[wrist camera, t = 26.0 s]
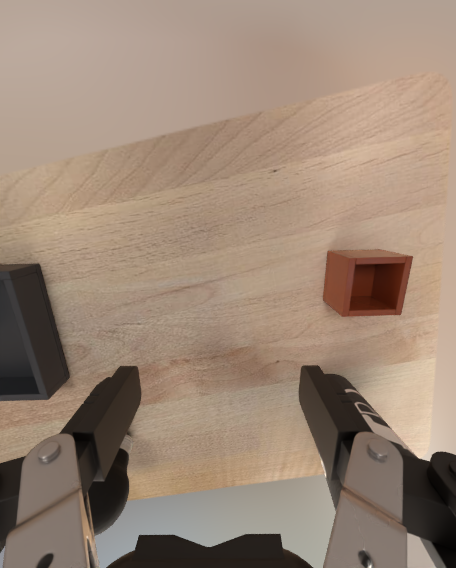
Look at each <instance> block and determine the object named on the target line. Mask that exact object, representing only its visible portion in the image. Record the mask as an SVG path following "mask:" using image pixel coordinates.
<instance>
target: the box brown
mask: <svg viewBox="0 0 456 568" xmlns="http://www.w3.org/2000/svg"><path fill="white" fill-rule="evenodd" d="M412 259H413V256H409V255H404V254H399V253H395V252H390V251H385V250H381V249H374V250H339V251H328V253H327V264H326V274H325V284H324V294H323V300H324V301H325V302H326V303H327V304H328V305H329V306H330V307H332V308H333V309H334V310H335V311H336V312H337V313H339V314H340V315H341V316H342V317H346V316H380V315H401V313H402V308H403V303H404V298H405V293H406V289H407V284H408V279H409V274H410V269H411V264H412Z"/></svg>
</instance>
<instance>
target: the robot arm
mask: <svg viewBox="0 0 456 568" xmlns="http://www.w3.org/2000/svg"><path fill="white" fill-rule="evenodd" d="M140 401H141V386H140V379H139V371H138V367H137V366H120V367H119V368H118V369H117V371H116V372H115V373H114V375H113V376H112V377H107V378H106V379H104V380H103V381H102V382H100V383H99V384H98V385H97V386H96V387H95V388H94V389H93V391H92V392H91V393H90V396H88V397H87V399H86V400H85V401H84V404H82V405H81V406H80V408H79V409H78V410H77V411H76V413H75V414H74V415H73V417H72V418H71V419H70V420H69V422H68V423H67V424H66V426H65V427H64V428H63V429H62V431H61V432H60V433H59V434H57V435H54V436H51V437H49V438H47V439H45V440H43V441H42V442H40V443H39V444H37V445H36V446H35V447H34V448H33V449H32V450H31V451H30V452H29V453H28V454H27V456H24V457H21V458H17V459H14V460H10V461H7V462H3V463H0V552H1V551H2V549H3V548H4V546H5V553H4V560H3V568H100V566H99V561H98V556H97V551H96V544H95V538H94V531H93V524H92V517H91V511H90V504H89V497H88V493H87V492H88V490H89V488H90V486H91V484H92V482H93V481H104V480H105V478H106V476H107V474H108V472H109V470H110V467H111V465H112V463H113V461H114V459H115V457H116V455H117V452H118V450H119V448H120V446H121V444H122V442H123V440H124V437H125V435H126V433H127V431H128V429H129V427H130V425H131V422H132V420H133V418H134V416H135V414H136V412H137V409H138V407H139V405H140ZM299 401H300V405H301V408H302V410H303V413H304V415H305V418H306V420H307V423H308V426H309V428H310V431H311V433H312V436H313V438H314V441H315V443H316V446H317V448H318V451H319V454H320V456H321V459H322V461H323V464H324V466H325V469H326V471H327V474H328V477H329V479H330V481H336V480H340V481H341V483H342V485H343V487H342V490H341V494H340V498H339V502H338V506H337V511H336V515H335V519H334V523H333V528H332V532H331V536H330V540H329V544H328V548H327V553H326V557H325V561H324V565H323V568H407V533H409V534H412V535H415V536H417V537H419V538H420V540H421V542H422V543H423V545H424V547H425V549H426V551H427V552H428V554H429V556H430V558H431V560H432V561H433V563H434V565H435V567H436V568H456V455H454V454H451V453H447V452H436V453H434V454H433V455H432V457H431V460H430V462H429V461H426V460H422V459H419V458H415V457H412V456H408V455H405V454H402V453H400V452H399V451H398V450H397V448H396V447H395V446H394V445H393V444H392V443H391V442H389V441H388V440H387V439H385V438H384V437H382V436H380V435H378V434H375V433H374V432H373V431H372V429H371V428H370V426H369V425H368V423H367V422H366V420H365V419H364V417H363V416H362V415H361V413H360V412H359V410H358V409H357V407H356V406H355V404H354V403H352V400H351V398H350V397H349V396H348V395H347V393H346V391H345V390H344V388H343V387H342V385H341V384H340V383H339V382H337V381H336V380H335V379H334V378H332V377H326V376H325V374H324V373H323V371H322V370H321V368H320V367H319V366H318V365H312V366H302V367H301V375H300V385H299ZM106 568H313V567H312V566H311V565H310V564H308V563H307V562H306V561H305V560H303V559H302V558H300V557H299V556H298V555H296V554H294V553H292V552H290V551H288V550H285V549H283V547H282V542H281V535H280V534H245V535H243V536H240V537H237V538H234V539H232V540H229V541H226V542H224V543H221V544H218V545H216V546H213V547H205V546H202V545H200V544H197V543H194V542H192V541H189V540H186V539H183V538H181V537H178V536H175V535H139V537H138V541H137V545H136V548H135V550H134V551H132V552H129V553H128V554H126V555H124V556H122V557H120V558H119V559H117V560H116V561H114V562H113V563H111V564H110V565H109V566H108V567H106Z"/></svg>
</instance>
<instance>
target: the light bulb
mask: <svg viewBox="0 0 456 568" xmlns="http://www.w3.org/2000/svg"><path fill="white" fill-rule="evenodd" d="M132 446H133V439H132V438H131V437H130V436H129V435H128V434H126V435H125V437H124V440H123V442H122V444H121V446H120V448H119V450H118V452H117V455H116V457H115V459H114V461H113V463H112V465H111V467H110V470H109V472H108V474H107V476H106V478H105V480H104V481H93V482H92V484H91V486H90V488H89V490H88V492H87V493H88V497H89V504H90V511H91V517H92V524H93V531H94V536H95V535H98V534H100V533H102V532H104V531H105V530H107V529H108V528H109V527H110V526H111V525H113V523H114V522H115V521H116V520H117V519H118V517H119V516H120V514H121V513H122V511H123V509H124V507H125V504H126V502H127V498H128V494H129V479H128V476H127V466H128V461H129V454H130V451H131V449H132Z"/></svg>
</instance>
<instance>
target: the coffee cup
mask: <svg viewBox="0 0 456 568" xmlns="http://www.w3.org/2000/svg"><path fill="white" fill-rule="evenodd" d="M325 376H326V377H332V378H334V379H335V380H336V381H337V382H339V383H340V384H341V385H342V387H343V388H344V390H345V391H346V393H347V395H348V396H349V397H350V398H351V400H352V403H354V404H355V406H356V407H357V409H358V410H359V412H360V413H361V415H362V416H363V417H364V419H365V420H366V422H367V423H368V425H369V426H370V428H371V429H372V431H373V432H374V433H375V434H378V435H380V436H382V437H384V438H385V439H387V440H388V441H389V442H391V443H392V444H393V445H394V446H395V447H396V448H397V450H398V451H399V452H400V453H402V454H405V455H408V456H412V457H415V458H417V456H416V455H415V454H414V453H413V452H412V451H411V450H410V449H409V448H408V447H407V445H406V444H405V443H404V442H403V441H402V440H401V439H400V438H399V437H398V435H397V434H396V433H395V432H394V431H393V430H392V429H391V428H390V427H389V426H388V424H387V423H386V422H385V421H384V420H383V419H382V418H381V417H380V416H379V414H378V413H377V412H376V411H375V410H374V409H373V408H372V407H371V406H370V404H369V403H368V402H367V401H366V400H365V399H364V398H363V397H362V396H361V394H360V393H359V392H358V391H357V390H356V389H355V388H354V387H353V386H352V384H351V383H350V382H349V381H348V380H347V379H345V378H344V377H342V376H340V375H335V374H326V375H325ZM317 449H318V448H317ZM318 453H319V451H318ZM319 456H320V454H319ZM320 459H321V456H320ZM321 463H322V466H323V469H324V473H325V476H326V479H327V483H328V486H329V490H330V493H331V496H332V500H333V503H334V507H335V510H336V511H337V506H338V502H339V498H340V494H341V490H342V487H343V485H342V483H341V481H340V480H336V481H330V479H329V477H328V474H327V471H326V469H325V466H324V464H323V461H322V459H321ZM407 568H436V567H435V565H434V563H433V561H432V560H431V558H430V556H429V554H428V552H427V551H426V549H425V547H424V545H423V543H422V542H421V540H420V538H419V537H417V536H415V535H412V534H409V533H407Z"/></svg>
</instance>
